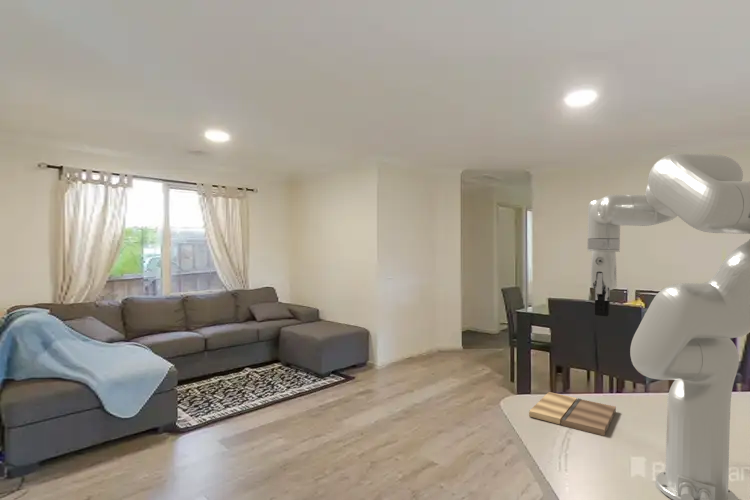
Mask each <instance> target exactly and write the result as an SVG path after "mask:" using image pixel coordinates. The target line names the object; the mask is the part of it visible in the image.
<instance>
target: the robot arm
mask: <svg viewBox="0 0 750 500" xmlns="http://www.w3.org/2000/svg"><path fill="white" fill-rule="evenodd" d="M743 176H744V172H743V168H742V166H741V165H740V163H738V162H737V161H736V160H735V159H733V158H731V157H730V156H725V155H722V154H714V153H712V154H711V153H683V152H682V153H681V152H680V153H671V154H668V155H665V156H663V157H661V158H660V159H658V160H657V161H655V163H654V164H653V166H652V167H651V168H650V171H649V174H648V177H647V185H646V188H645V195H644V194H643V195H642V194H641V195H640V194H607V195H606V196H603V197H602V198H598V199H593V200H591V201H590V202H589V203H588V206H587V215H588V216H587V248H586V249H587V252H591V258H590V259H591V262H590V263H591V264H590V286H591V288H592V289H594V290H595V300H594V315H595V316H600V317H609V316H610V303H611V302H610V291H612V290H614V289H616V288H617V286H618V284H617V283H618V282H617V278H618V277H617V255H616V254H617V253H620V249H621V248H620V247H621V246H620V245H621V226H635V227H636V226H639V227H647V226H648V227H649V226H655V225H658V224H663V223H667V222H669V221H673V220H675V219H676V218H677V217H678V218H679V219H681V220H682V222H683V221H684V223H686V224H687V225H689V226H690V227H691V228H693V229H695V230H698V231H699V232H703V233H709V234H741V235H744V234H745V235H746V234H748V235H750V181H743V178H744V177H743ZM639 323H640V324H639V325H638V327H637V329H636V330H635V333H634V334H633V337H632V340H631V343H630V349H629V350H630V351H629V353H630V354H629V355H630V359H631V360H630V361H631V364H632V365H633V367H634V368H635V370H636V371H637V372H638V373H640V375H642V376H644V377H647V378H649V379H652V380H661V381H662V380H663V381H664V380H665V381H668V380H669V381H673V382H672V384H671V386H670V388H669V391H668V395H667V402H666V406H667V407H666V439H665V441H666V442H665V446H666V448H665V471H662V472H660V473H658V474H657V475H656V477H655V484H656V487H657V489H659V491H660V492H661V493H662V494H664V496H667V497H668V498H669V499H671V500H739V497H738V496H737V495H736V494H735V493H734V492H733V491H732V490H731V489H729V478H730V477H729V474H730V433H731V432H730V430H731V429H730V428H731V426H730V425H731V403H732V393H733V387H734V383H735V380H736V376H737V373H738V369H739V364H740V355H739V351H738V348H737V346H736V344H735V343H734V341H733V340H732V339H734V338H736V339H737V338H740V337H744V336H746V335H748V334H749V333H750V239H749V240H747V241H746V242H744V243H743V244H741V245H740V246H738V247H736V249H734V250H733V251H732V252H730V253H729V254H728V255H727V256H726V258H725V259H724V260H723V261H722V263H721V265H720V267H719V268H718V270H717V272H716V273H715V274H714V276H713V277H711V279H709V281H706V282H702V283H701V282H700V283H698V282H697V283H696V282H695V283H694V282H693V283H689V282H688V283H686V282H684V283H674V284H671V285H668V286H666V287H664V288H663V289H661V290H660V291H659V292H658V293H657V294H656V295H655V296H654V298H653V299H652V301H651V302H650V304H649V306H648V308H647V310H646V311H645V314H644V315H643V317H642V319H641V321H640V322H639Z"/></svg>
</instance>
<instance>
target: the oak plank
mask: <svg viewBox="0 0 750 500" xmlns="http://www.w3.org/2000/svg"><path fill="white" fill-rule="evenodd" d="M577 399H578V398H577V397H573V396H570V395H566V394H560V393H556V392H551V391H548V392H547V393H546V394H545V395H544V396H543V397H542V398H541V399H540V400H539V401H538V402H536V404H535V405H534V406H533V407H532V408H530V410H529V411H528V416H529V418H534V419H538V420H542V421H545V422H549V423H553V424H557V425H561V419H562V418H563V417H564V416H565V414H566V413H567V412H568V411H569V409H570V408H571V407H572V405H573V404H574V403H575V402H576V400H577Z"/></svg>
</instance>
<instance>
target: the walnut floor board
mask: <svg viewBox="0 0 750 500" xmlns="http://www.w3.org/2000/svg"><path fill="white" fill-rule="evenodd" d="M616 411H617V407H616V406H614V405H611V404H610V405H609V404H605V403H601V402H596V401H591V400H586V399H581V398H577V400H576V402H575V403H574V404H573V405H572V407H571V408H570V409H569V411H568V412H567V413H566V414H565V416H564V417H563V418H562V419H561V424H560V425H561V426H563V427H567V428H569V429H570V428H571V429H575V430H579V431H583V432H585V433H586V432H588V433H589V434H590V433H591V434H593V435H594V434H595V435H599V436H603V437H604V436H605V435H606V432H607V431H608V429H609V426H610V425H611V423H612V421H613V419H614V416H615V414H616Z"/></svg>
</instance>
